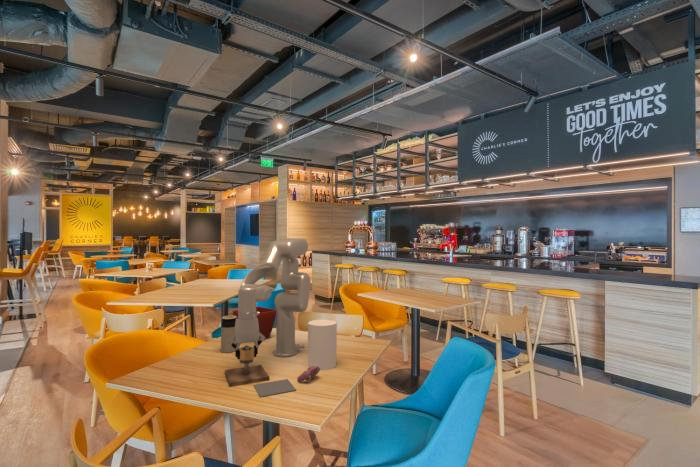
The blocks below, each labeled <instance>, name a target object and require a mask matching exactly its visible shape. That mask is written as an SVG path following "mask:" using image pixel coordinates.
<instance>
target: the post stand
mask: <svg viewBox="0 0 700 467" xmlns="http://www.w3.org/2000/svg"><path fill="white" fill-rule="evenodd" d="M249 346H250V345H244V346H243V347H244V350H249ZM253 362H254V359H252V360H247V361H243V360H239V363H240V364H242V365H244V366H242V367H236V368H229V369H225V370H224V375H225V378H226V381H227V384H228V387H230V388H231V387H237V386H242V385H249V384H257V383H261V382H266V381H268V382H269V381H270V375H269V374H268V372H267V371H266V370H265V368H264V367H263V365H262V364H257V365H250V364H251V363H253Z"/></svg>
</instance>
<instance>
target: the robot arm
mask: <svg viewBox="0 0 700 467" xmlns="http://www.w3.org/2000/svg"><path fill="white" fill-rule="evenodd" d="M308 250H309V243H308V241H307V240H306V238H302V237H301V238H299V237H298V238H292V237H291V238H289V237H286V238H280V239H279V240H273V241H272V242H270V244H269V246H268V247H267V249H266V252H265V254H264V257H263V258H262V261H260V262H261V263H260V264H258V265H257V266H255V267H254V268H253V269H251V270H250V271H249V272H248V273H247V274H246V275H245V277H244V279H243V280H242V282H241V285H240V287H239V289H238V300H237V302H238V303H237V304H238V305H237V310H238V319H236V322H235V330H234V335H233V336H232V337H231V338H230V339H229V340H228V343H229V344H230V345H231V346H232V347H233V348H235V349H236V350H235V351H234V352H235V353H234V354H235V355H234V356H235V358H236V359H237V360H239V359H240V350H239V348H241V347H240V346H241V344H246V343H253V347H254V348H255V358H257V355H258V354H259V347H260V345H261V344H262V343H263V341H265V340H266V339H265V336H263V335H262V334H261V333H260V332H259V324H258V318H257V315H260V313H259V312H257V311H256V307H257V303H259V302H260V303H261V302H266V301H267V300H269V299H270V297H271V296H272V290H271V288H270V287H269V286H268V285H266V284H258V283H257V282H258V281H260V280H261V279H263V278H266V277H269V276H271V275H274V274H276V273H277V272H278V270H279V268H280V265H281V263H282V268H281V276H280V287H281V288H282V289H283V290H286V291H287V292H279V293H277V294H276V296H275V298H274V307H275V310H276V316H275V317H276V331H275V332H276V334H275V335H276V338H275V340H276V341H275V342H276V343H275V344H276V346H275V348H276V349H274V350H273V352H272V353H273V354H272V355H274V356H275V357H280V358H287V357H293V356H295V355H298V353H299V351H298V350H299V349H304V348H305V345H304V344H300V343H296V342H295V341H296V339H295V338H296V319H295V315H294V313H293V312H295V313H303V312H305V311H306V310H307V309H308V306H309V300H310V292H311V291H310V290H311V277H310V275H309V274H308V273H307V272H301V271H300V272H299V267H300V265H299V264H300V263H299V260H298V258H297V257H301V256H303V255H305V254H306V253H307V252H308ZM289 291H298V292H289ZM259 336H260V337H261V339H260V340H259ZM233 340H235V341H236V345H235V344H234V343H233V342H232V341H233Z"/></svg>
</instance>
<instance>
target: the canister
mask: <svg viewBox="0 0 700 467" xmlns="http://www.w3.org/2000/svg"><path fill="white" fill-rule="evenodd" d="M337 327H338V322H337V321H336V320H333V319H326V318H325V319H323V318H321V319H313V320H310V321H308V323H307V366H308V368H309V367H310V366H315V365H316V366H318V367H319V368H320V371H325V370H326V371H328V370H331V369H334V368H335V367H336V366H337V350H338V349H337V344H338V343H337V342H338V341H337V340H338V339H337V337H338V335H337V333H338V332H337V329H338V328H337Z"/></svg>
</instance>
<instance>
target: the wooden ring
mask: <svg viewBox="0 0 700 467" xmlns="http://www.w3.org/2000/svg"><path fill="white" fill-rule="evenodd" d="M248 346H249V350H244V346H242V347H239V350H240V359H238V360H239V361H240V360H243V361H247V360H252V359H253V360H254V359H255V358H256V357H255V348H254V346H250V345H248Z"/></svg>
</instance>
